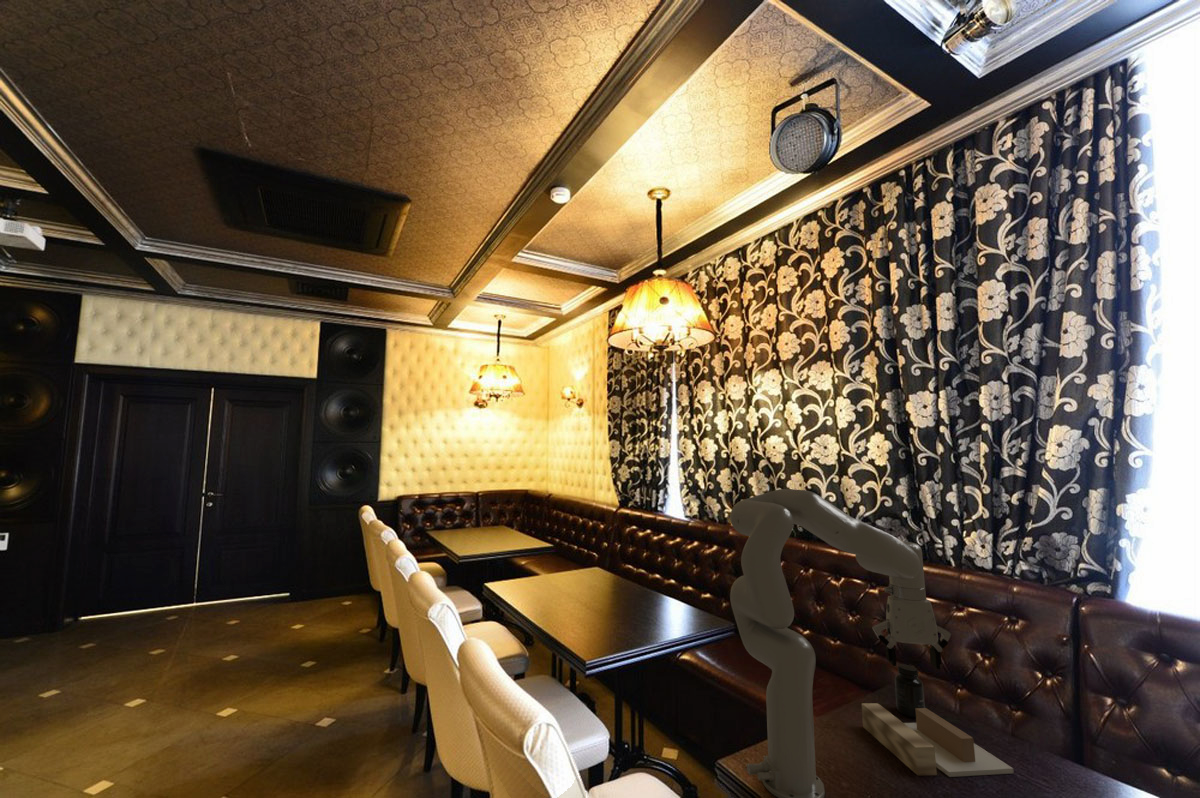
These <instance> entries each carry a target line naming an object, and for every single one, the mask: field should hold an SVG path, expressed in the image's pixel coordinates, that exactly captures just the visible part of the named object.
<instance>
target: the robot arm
mask: <svg viewBox="0 0 1200 798" xmlns="http://www.w3.org/2000/svg"><path fill="white" fill-rule="evenodd" d="M729 520H730V522H731V523H730V524H731V526H732V528H733V529H734V530H735V531H736V532H737V533H739V534H741V535H743V536H745V537H748V538H747V540H746V542H745V544H744V546H743V549H742V551H741V552H742V553H741V556H740V562H741V563H740V564H741V571H742V573H743V575H741V576H739V577H737V578H736V579H735V580H734V582H733V583H732V586H731V588H730V592H729V599H730V606H731V610H732V613H733V615H734V616H733V617H734V619H735V624H736V625H737V629H738V633H739V636H740V639H741V641H742V642H741V643H742V644H743V646H744V648H745V650H746V652H747V653H748V654H749V655H750V656H751V657H752V658H753V659H755V660H756V661H758V662H759V663H762V664H764V666H766V667H768V668H769V669H771V676H770V679H769V681H768V684H767V685H766V690H765V693H766V694H765V695H766V696H765V699H766V702H765V703H766V722H767V723H766V724H767V725H766V727H767V728H766V729H767V731H766V733H767V755H763V761H760V762H759V763H755V762H754V763H747V764H746V771H747V774H748V775H749V776H755V775H757V779H758V781H759V782H762V784H763V785H764V787H765V789H766V790H767V791H769V792H770V793H771V794H772V795H773V796H774V797H776V798H825V794H826V793H825V785H824V782H823V781H822V780H821V778H820V777H819V776H818V775H816V774H817V773H816V771H817V769H816V753H815V752H816V751H815V748H816V745H815V727H814V725H815V724H814V709H813V708H814V707H813V688H814V687H813V684H814V678H815V676H814V675H815V670H816V653H815V650H814V648H813V646H812V644H811V643H810V641H808V640H807V639H806V638H805V636H803V635H801V634H800V633H799V632H797V631H795V630H792V629H790V628H788V627H790V626H791V624H792V623H793V621H794V617H795V608H794V604H793V600H792V597H791V594H790V590H789V588H788V585H787V582H786V578H785V576H784V573H783V567H782V563H781V555H782V551H783V549H784V546H785V544H786V542H787V541H788V539H789V538H790V535H791V534H792V531H793V528H794V525H797V526H799V527H801V528H802V529H804V530H806V531H808V532H809V533H811V534H813V535H814V536H816V537H817V538H818V539H820V540H821V541H824V542H825V543H826V544H827V545H829V546H831V547H834V548H835V549H838V550H840V551H843V552H846V553H849V554H853V555H855V560H856V562H857V563H858V564H859V566H860V567H862V568H863V569H864V570H865V571H869V572H871V573H876V574H880V575H884V576H888V577H889V579H888V580H889V583H888V586H884V587H883V589H884V593H887V594H889V595H888V596H887V602H886V610H885V611H886V613H885V620H884V621H882V622H879V623H878V624H875V625H873V626H871V627H872V630H873V632H874V634H875V636H876V638H877V639H878V640H879V641H881V643H882V644H883V645H884V646H885V658H886V660H887V661H888V662H889V664H890V665H892V666H893V667H897V666H898V665H897V654H896V653H897V652H896V649H895V648H894V646H895V645H896V644H897V643H901V644H902V643H903V644H915V645H930V647H929V660H930V664H931V666H933V668H935V669H936V670H941V665H942V655H941V653H942V652H943V651H944V648H946V646H947V645H948V642H949V640H950V638H951V636H952V633H951V632H950V631H948V630H946V629H945V628H944V627H941V626H939V625H937V621H936V617H935V614H934V610H933V605H932V603H931V601H930V600H929V599H928V598H927V594H926V584H925V583H926V582H925V572H924V570H925V569H924V560H923V559H924V558H923V550H922V547H921V546H920V545H919V544H918V543H915V542H911V541H902V540H900V539H899V538H897V537H896V536H894V535H892V534H890V533H888V532H886V531H885V530H882V529H879V528H877V527H874V526H872V525H870V524H868V523H867V522H864V521H861V520H859V519H857V518H854V517H852V516H851V515H850V514H849V515H848V514H847V513H846V512H844V511H842V510H841V509H840V508H838V507H837V506H835V505H833V503H831V502H829V501H827V500H826V499H824V498H823V497H821V495H818V493H815V492H813V491H810V490H805V489H795V488H793V489H792V488H791V489H790V488H780V489H779V488H778V489H775V490H772V491H769V492H765V493H761V494H757V495H756V496H755V495H754V496H752V497H748V498H744V499H742V500H740V501H737V503H736V504H734V505H733V507H732V509H731V511H730V514H729ZM884 630H886V632H887V635H886V636H884V635H883V633H882V631H884ZM938 633H939V634H940V637H939V635H938Z"/></svg>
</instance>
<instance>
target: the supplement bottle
mask: <svg viewBox="0 0 1200 798" xmlns="http://www.w3.org/2000/svg"><path fill="white" fill-rule="evenodd" d="M897 673H898V674H896V675H895V677H894V684H895V685H894V686H895V687H894V690H895V702H896V704H895V705H896V709H897V711H898V713H901V715H903V716H907V717H909V718H914V719H916V711H915V708H926V706H925V705H926V704H925V693H924V691H925V690H924V684H923V681H922V680H921V679H920V678H919V676H920V675H919V670H918V668H917V667H916V666H913V665H909V664H905V663H902V664H901V663H899V664H898V665H897Z"/></svg>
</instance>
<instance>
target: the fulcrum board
mask: <svg viewBox="0 0 1200 798" xmlns="http://www.w3.org/2000/svg"><path fill="white" fill-rule="evenodd" d="M915 711H916V718H915V722H903V723H904V724H905V725H907V726H908V727H909V728H911V729H912V730H913V731H914V732H916V733H917V734H918V735H920V736H921V737H922V738H924V739H925V740H926V741H927V742H929V743H930V744H931V745H933V746H934V747H935V758H936V769H938V770H939V771H941V772H942V773H943V774H945V775H946V776H948V777H949V778H952V777H953V778H955V777H970V776H971V777H973V776H974V777H975V776H988V775H989V776H990V775H1007V774H1010V775H1011V774H1014V773H1015V772H1014V767H1011V766H1010V765H1009V764H1007V763H1005V762H1004V761H1003V760H1001V759H999V758H998V757H996V756H995V755H993V754H992V753H990V752H989V751H986V750H985V749H984V748H982V747H981V746H979V745H977V744H976V743H975V740H974V737H973V736H971V735H969V734H967V733H966V732H965V731H963V730H962V729H960V728H958V727H957V726H955V725H953V724H952V723H950V722H949V721H947V720H945V719H944V718H942V717H941V716H939V715H938V714H936V713H934V712H933V711H932V710H930V709H928V708H926V707H925V708H915Z"/></svg>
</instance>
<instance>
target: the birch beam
mask: <svg viewBox="0 0 1200 798" xmlns="http://www.w3.org/2000/svg"><path fill="white" fill-rule="evenodd" d="M861 713H862V714H861V715H862V717H861V718H862V727H863V728H864V729H865V730H866V731H867V732H868V733H869V734H870V735H871V736H873V738H875V739H876V740H877V741H878V742H879V743H880V744H881V745H883V746H884V748H886V749H887V750H888V751H889V752H891V753H892V754H893V755H894V756H895V757H897V759H899V760H900V761H901V763H903V764H904V765H905V766H906V767H907V768H909V769H910V770H911V771H912V772H913V773H914V774H916V776H937V775H938V774H937V773H938V772H937V767H936V758H935V747H934V746H933V745H931V744H930V743H929V742H927V741H926V740H925V739H924V738H922V737H921V736H920V735H918V734H917V733H916V732H914V731H913V730H912V729H911V728H909V727H908V726H907V725H905V724H904V723H905V722H902V721H901V720H900V719H899V718H898V717H897V716H895V715H893V714H892V713H891V712H890V711H889V710H888V709H886V708H885V707H883V706H882V705H881V704H879V703H878V702H876V703H874V702H873V703H872V702H871V703H867V702H865V703H863V702H862V703H861Z"/></svg>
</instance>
